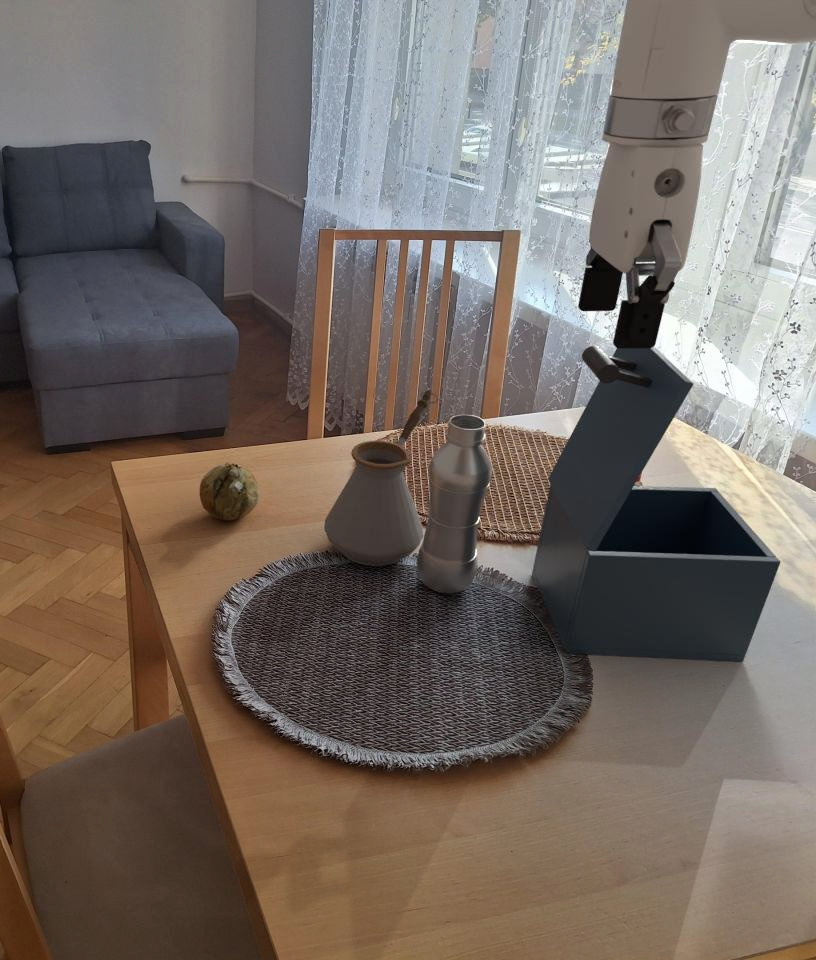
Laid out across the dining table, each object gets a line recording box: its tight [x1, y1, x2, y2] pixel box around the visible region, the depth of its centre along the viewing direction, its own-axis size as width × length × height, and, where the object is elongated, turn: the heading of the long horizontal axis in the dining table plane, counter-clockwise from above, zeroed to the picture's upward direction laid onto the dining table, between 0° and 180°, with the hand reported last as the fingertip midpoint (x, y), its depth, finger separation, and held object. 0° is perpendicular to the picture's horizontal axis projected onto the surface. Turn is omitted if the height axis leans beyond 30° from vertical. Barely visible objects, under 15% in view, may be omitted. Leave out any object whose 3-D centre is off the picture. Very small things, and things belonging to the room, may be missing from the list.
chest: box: [531, 483, 781, 662], centre depth 87 cm, size 17×14×12 cm
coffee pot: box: [323, 389, 439, 567], centre depth 103 cm, size 21×12×15 cm, turn 145°
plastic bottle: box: [416, 414, 494, 594], centre depth 91 cm, size 6×7×20 cm
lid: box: [547, 345, 695, 552], centre depth 81 cm, size 18×14×6 cm
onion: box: [199, 461, 260, 522], centre depth 109 cm, size 8×8×8 cm
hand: (613, 327), depth 76 cm, fingers open, 9 cm apart
